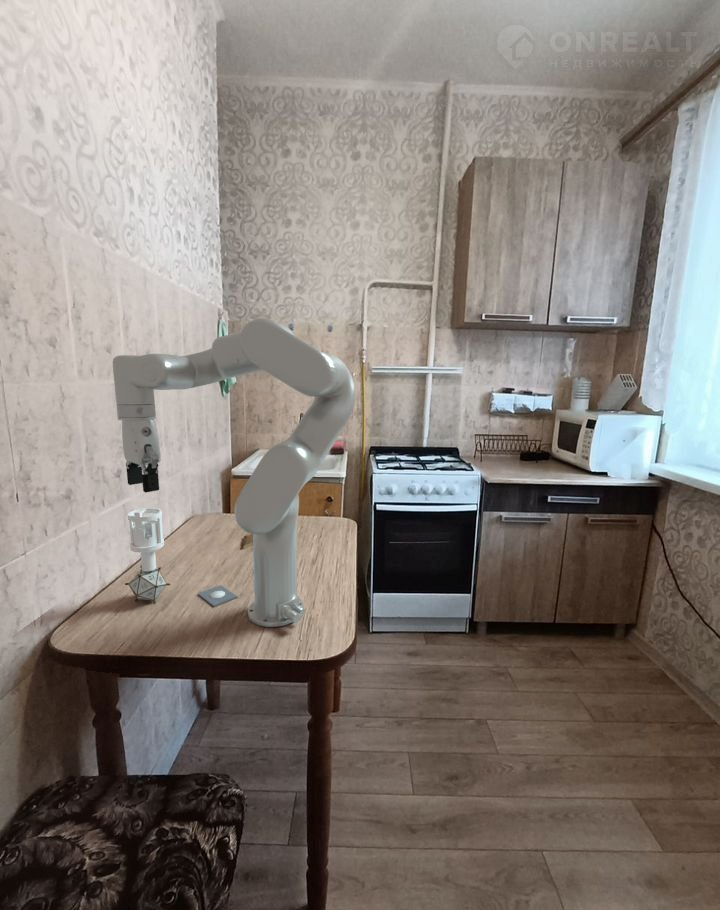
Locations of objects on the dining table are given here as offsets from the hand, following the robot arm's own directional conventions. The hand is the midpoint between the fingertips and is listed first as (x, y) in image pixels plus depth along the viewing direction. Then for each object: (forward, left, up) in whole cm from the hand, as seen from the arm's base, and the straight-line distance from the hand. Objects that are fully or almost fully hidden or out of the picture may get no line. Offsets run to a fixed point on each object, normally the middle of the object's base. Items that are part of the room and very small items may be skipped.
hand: (143, 487), depth 94 cm
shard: (+14, -38, -28) cm, 49 cm away
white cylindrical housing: (0, 0, -20) cm, 20 cm away
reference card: (-10, -12, -28) cm, 32 cm away
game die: (0, 0, -28) cm, 28 cm away
